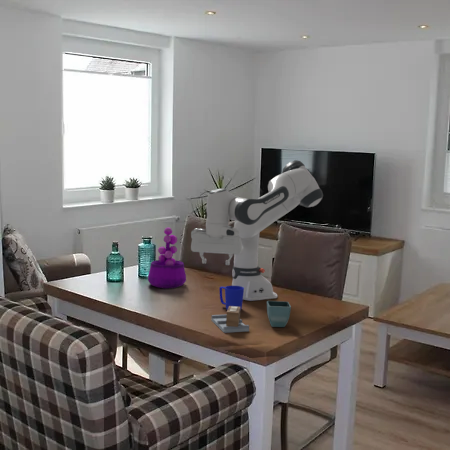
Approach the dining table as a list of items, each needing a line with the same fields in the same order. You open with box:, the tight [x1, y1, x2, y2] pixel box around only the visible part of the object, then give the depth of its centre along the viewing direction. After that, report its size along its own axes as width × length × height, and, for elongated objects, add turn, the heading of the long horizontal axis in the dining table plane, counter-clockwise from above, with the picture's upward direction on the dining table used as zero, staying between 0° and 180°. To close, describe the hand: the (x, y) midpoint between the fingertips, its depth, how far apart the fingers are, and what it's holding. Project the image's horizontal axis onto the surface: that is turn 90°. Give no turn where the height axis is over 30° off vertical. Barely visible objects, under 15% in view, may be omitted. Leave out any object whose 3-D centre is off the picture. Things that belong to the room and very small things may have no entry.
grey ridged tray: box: [210, 313, 250, 334], centre depth 245 cm, size 10×17×2 cm, turn 18°
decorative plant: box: [147, 227, 187, 290], centre depth 305 cm, size 19×18×30 cm
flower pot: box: [266, 300, 292, 328], centre depth 247 cm, size 9×9×9 cm
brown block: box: [226, 306, 241, 327], centre depth 241 cm, size 9×4×6 cm, turn 174°
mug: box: [219, 285, 244, 311], centre depth 269 cm, size 8×12×10 cm
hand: (215, 264), depth 248 cm, fingers open, 8 cm apart
